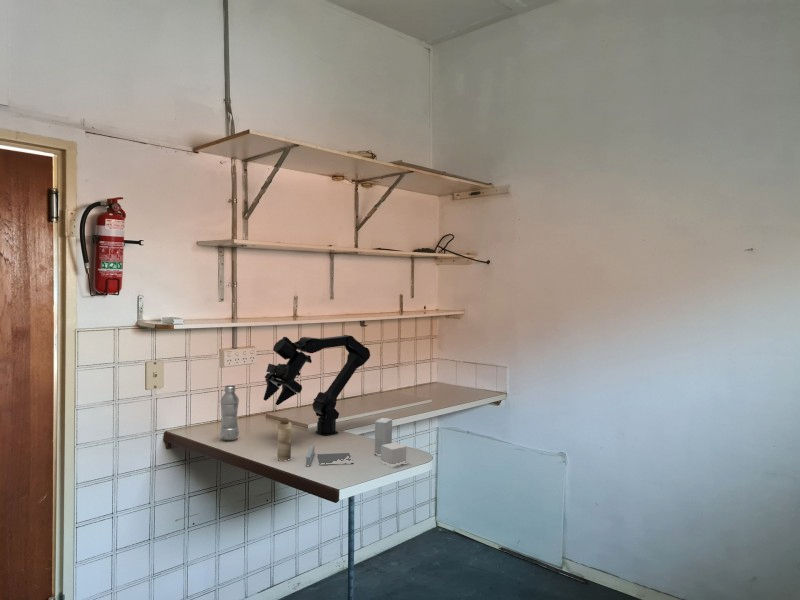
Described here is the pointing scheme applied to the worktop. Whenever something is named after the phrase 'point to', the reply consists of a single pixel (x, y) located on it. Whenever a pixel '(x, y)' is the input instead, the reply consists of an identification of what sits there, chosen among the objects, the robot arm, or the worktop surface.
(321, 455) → the mat
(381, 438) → the skincare box
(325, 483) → the worktop surface
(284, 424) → the mill
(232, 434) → the plastic bottle
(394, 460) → the grey cube
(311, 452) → the rail
